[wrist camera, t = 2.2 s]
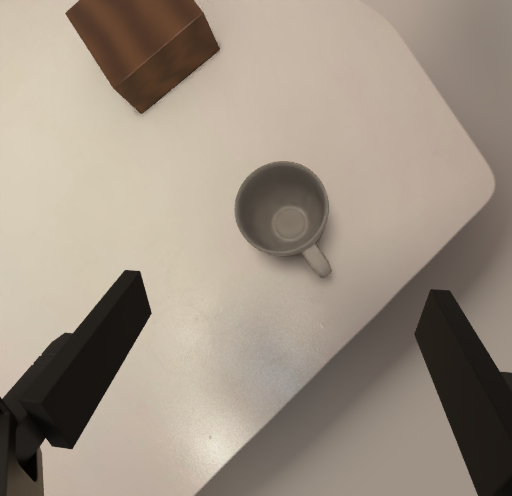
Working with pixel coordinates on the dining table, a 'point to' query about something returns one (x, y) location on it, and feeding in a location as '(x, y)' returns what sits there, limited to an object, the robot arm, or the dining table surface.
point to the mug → (284, 212)
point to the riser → (144, 43)
